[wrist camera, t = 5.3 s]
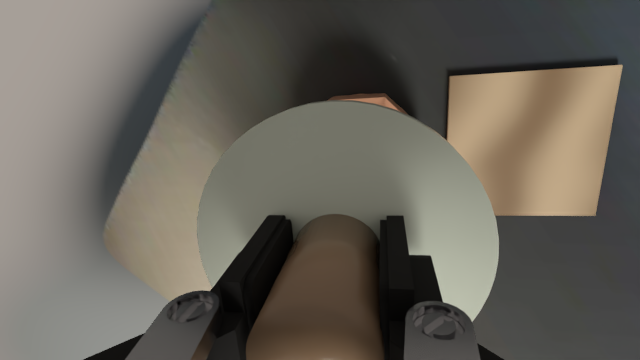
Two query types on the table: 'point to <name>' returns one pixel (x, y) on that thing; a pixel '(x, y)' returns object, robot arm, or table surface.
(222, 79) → the table surface
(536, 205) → the mat
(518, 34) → the table surface
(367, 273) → the lid
